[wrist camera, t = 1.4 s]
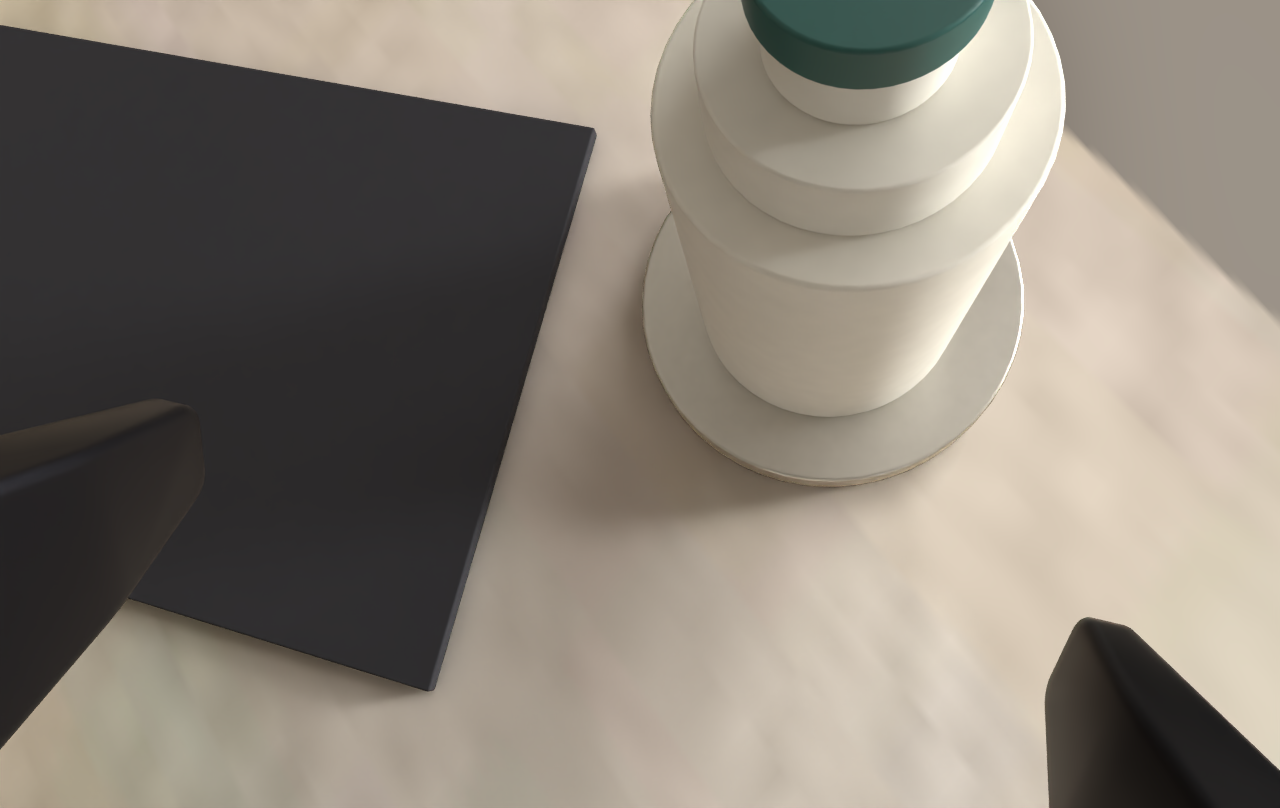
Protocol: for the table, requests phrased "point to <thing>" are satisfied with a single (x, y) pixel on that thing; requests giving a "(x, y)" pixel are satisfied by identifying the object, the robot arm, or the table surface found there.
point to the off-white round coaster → (827, 443)
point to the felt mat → (284, 320)
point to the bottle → (850, 179)
